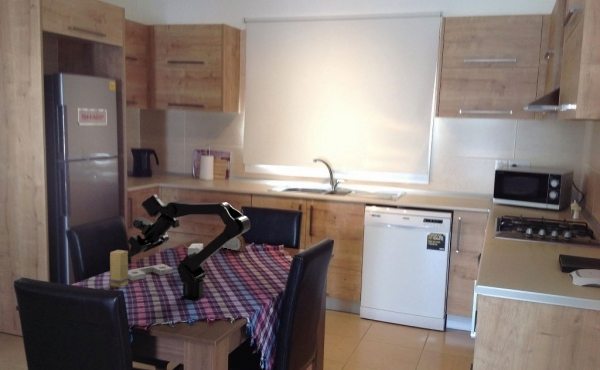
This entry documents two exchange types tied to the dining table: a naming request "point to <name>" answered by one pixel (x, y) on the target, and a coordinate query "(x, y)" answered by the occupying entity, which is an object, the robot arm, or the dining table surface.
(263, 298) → the dining table surface
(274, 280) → the dining table surface
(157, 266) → the bracket
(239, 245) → the bread slice
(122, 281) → the gold block
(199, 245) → the ink box
